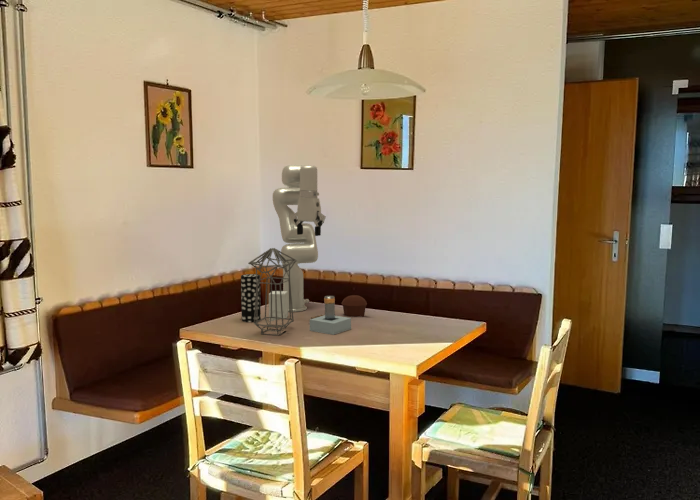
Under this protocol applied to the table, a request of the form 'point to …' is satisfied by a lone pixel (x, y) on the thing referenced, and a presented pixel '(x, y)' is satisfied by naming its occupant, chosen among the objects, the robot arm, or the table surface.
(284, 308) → the supplement box
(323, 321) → the socket
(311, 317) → the mount
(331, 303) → the pin
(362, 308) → the muffin
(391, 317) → the table surface
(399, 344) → the table surface
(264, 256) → the geometric lantern
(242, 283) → the spotted tube
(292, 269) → the robot arm
